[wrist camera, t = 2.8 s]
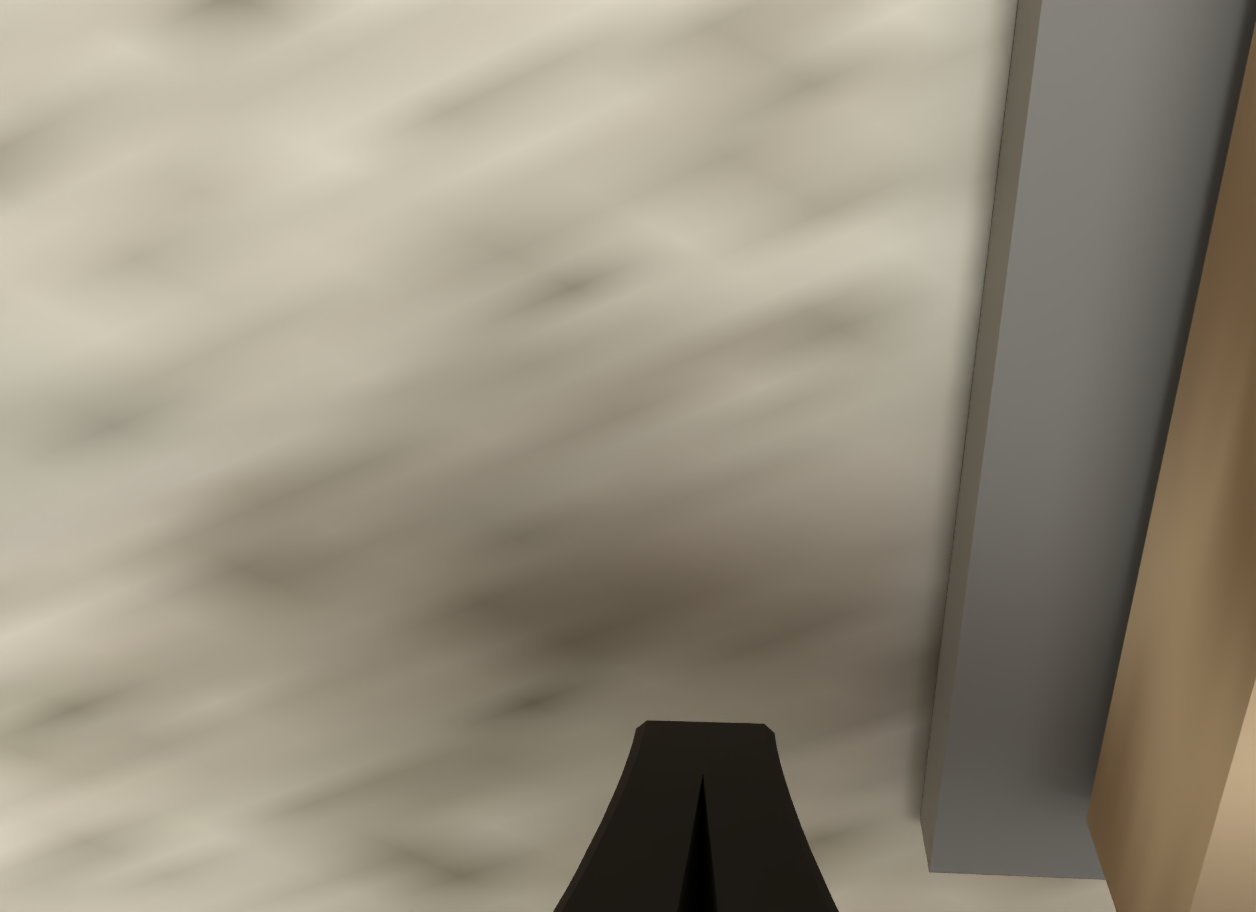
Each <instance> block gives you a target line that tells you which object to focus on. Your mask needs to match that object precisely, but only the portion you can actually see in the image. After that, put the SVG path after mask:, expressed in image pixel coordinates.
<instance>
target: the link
mask: <svg viewBox="0 0 1256 912" xmlns="http://www.w3.org/2000/svg"><path fill="white" fill-rule="evenodd" d="M1086 822H1087V825H1088V828H1089V831H1090V834H1091V837H1092V840H1093V843H1094V846H1095V849H1096V852H1097V855H1098V858H1099V861H1100V864H1101V867H1102V870H1103V873H1104V876H1105V879H1106V882H1107V885H1108V887H1109V890H1110V893H1111V896H1112V899H1113V902H1114V905H1115V908H1116V911H1117V912H1256V22H1255V27H1254V31H1253V36H1252V41H1251V45H1250V50H1249V55H1248V59H1247V64H1246V69H1245V74H1244V78H1243V83H1242V88H1241V92H1240V97H1239V102H1238V107H1237V111H1236V116H1235V121H1234V125H1233V130H1232V135H1231V140H1230V144H1229V149H1228V154H1227V158H1226V163H1225V168H1224V173H1223V177H1222V182H1221V187H1220V191H1219V196H1218V201H1217V205H1216V210H1215V215H1214V220H1213V224H1212V229H1211V234H1210V238H1209V243H1208V248H1207V253H1206V257H1205V262H1204V267H1203V271H1202V276H1201V281H1200V286H1199V290H1198V295H1197V300H1196V304H1195V309H1194V314H1193V319H1192V323H1191V328H1190V333H1189V337H1188V342H1187V347H1186V352H1185V356H1184V361H1183V366H1182V370H1181V375H1180V380H1179V384H1178V389H1177V394H1176V399H1175V403H1174V408H1173V413H1172V417H1171V422H1170V427H1169V432H1168V436H1167V441H1166V446H1165V450H1164V455H1163V460H1162V465H1161V469H1160V474H1159V479H1158V483H1157V488H1156V493H1155V498H1154V502H1153V507H1152V512H1151V516H1150V521H1149V526H1148V530H1147V535H1146V540H1145V545H1144V549H1143V554H1142V559H1141V563H1140V568H1139V573H1138V578H1137V582H1136V587H1135V592H1134V596H1133V601H1132V606H1131V611H1130V615H1129V620H1128V625H1127V629H1126V634H1125V639H1124V644H1123V648H1122V653H1121V658H1120V662H1119V667H1118V672H1117V676H1116V681H1115V686H1114V691H1113V695H1112V700H1111V705H1110V709H1109V714H1108V719H1107V724H1106V728H1105V733H1104V738H1103V742H1102V747H1101V752H1100V757H1099V761H1098V766H1097V771H1096V775H1095V780H1094V785H1093V790H1092V794H1091V799H1090V804H1089V808H1088V813H1087V818H1086Z"/></svg>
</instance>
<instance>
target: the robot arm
mask: <svg viewBox="0 0 1256 912" xmlns="http://www.w3.org/2000/svg"><path fill="white" fill-rule="evenodd" d="M553 912H839V911H838V909H837V907H836V905H835V903H834V901H833V899H832V897H831V894H830V892H829V890H828V888H827V885H826V883H825V881H824V879H823V876H822V874H821V872H820V870H819V867H818V865H817V863H816V861H815V858H814V856H813V854H812V852H811V849H810V847H809V845H808V842H807V840H806V837H805V835H804V832H803V830H802V827H801V825H800V822H799V819H798V816H797V813H796V811H795V808H794V805H793V802H792V800H791V797H790V794H789V791H788V788H787V784H786V781H785V778H784V775H783V771H782V768H781V764H780V760H779V755H778V751H777V746H776V741H775V733H774V732H773V731H772V730H770V729H769V728H768V727H767V726H766V725H765V724H751V723H717V722H683V721H648V720H647V721H646V722H644V723H643V724H642V725H640V726H639V727H638V728H636V732H635V736H634V740H633V744H632V747H631V750H630V753H629V756H628V759H627V762H626V765H625V768H624V770H623V773H622V775H621V778H620V780H619V783H618V785H617V788H616V790H615V792H614V795H613V797H612V799H611V802H610V804H609V806H608V808H607V811H606V813H605V815H604V817H603V820H602V822H601V824H600V826H599V828H598V830H597V832H596V834H595V836H594V837H593V839H592V841H591V843H590V845H589V847H588V849H587V851H586V853H585V855H584V857H583V859H582V861H581V863H580V865H579V867H578V869H577V871H576V873H575V875H574V877H573V879H572V880H571V882H570V884H569V886H568V888H567V889H566V891H565V893H564V894H563V896H562V898H561V899H560V901H559V903H558V905H557V906H556V908H555V910H554V911H553Z"/></svg>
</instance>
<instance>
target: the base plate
mask: <svg viewBox="0 0 1256 912" xmlns="http://www.w3.org/2000/svg"><path fill="white" fill-rule="evenodd" d="M1255 22H1256V0H1019V1H1018V9H1017V17H1016V26H1015V34H1014V42H1013V51H1012V59H1011V67H1010V76H1009V84H1008V92H1007V100H1006V109H1005V117H1004V125H1003V134H1002V142H1001V150H1000V159H999V167H998V175H997V183H996V192H995V200H994V208H993V217H992V225H991V233H990V241H989V250H988V258H987V266H986V275H985V283H984V291H983V300H982V308H981V316H980V324H979V333H978V341H977V349H976V358H975V366H974V374H973V383H972V391H971V399H970V407H969V416H968V424H967V432H966V441H965V449H964V457H963V466H962V474H961V482H960V490H959V499H958V507H957V515H956V524H955V532H954V540H953V548H952V557H951V565H950V573H949V582H948V590H947V598H946V607H945V615H944V623H943V631H942V640H941V648H940V656H939V665H938V673H937V681H936V690H935V698H934V706H933V714H932V723H931V731H930V739H929V748H928V756H927V764H926V773H925V781H924V789H923V797H922V806H921V814H920V822H921V828H922V833H923V839H924V845H925V850H926V856H927V862H928V867H929V872H935V873H959V874H983V875H1007V876H1031V877H1055V878H1079V879H1103V880H1106V879H1105V876H1104V873H1103V870H1102V867H1101V864H1100V861H1099V858H1098V855H1097V852H1096V849H1095V846H1094V843H1093V840H1092V837H1091V834H1090V831H1089V828H1088V825H1087V822H1086V818H1087V813H1088V808H1089V804H1090V799H1091V794H1092V790H1093V785H1094V780H1095V775H1096V771H1097V766H1098V761H1099V757H1100V752H1101V747H1102V742H1103V738H1104V733H1105V728H1106V724H1107V719H1108V714H1109V709H1110V705H1111V700H1112V695H1113V691H1114V686H1115V681H1116V676H1117V672H1118V667H1119V662H1120V658H1121V653H1122V648H1123V644H1124V639H1125V634H1126V629H1127V625H1128V620H1129V615H1130V611H1131V606H1132V601H1133V596H1134V592H1135V587H1136V582H1137V578H1138V573H1139V568H1140V563H1141V559H1142V554H1143V549H1144V545H1145V540H1146V535H1147V530H1148V526H1149V521H1150V516H1151V512H1152V507H1153V502H1154V498H1155V493H1156V488H1157V483H1158V479H1159V474H1160V469H1161V465H1162V460H1163V455H1164V450H1165V446H1166V441H1167V436H1168V432H1169V427H1170V422H1171V417H1172V413H1173V408H1174V403H1175V399H1176V394H1177V389H1178V384H1179V380H1180V375H1181V370H1182V366H1183V361H1184V356H1185V352H1186V347H1187V342H1188V337H1189V333H1190V328H1191V323H1192V319H1193V314H1194V309H1195V304H1196V300H1197V295H1198V290H1199V286H1200V281H1201V276H1202V271H1203V267H1204V262H1205V257H1206V253H1207V248H1208V243H1209V238H1210V234H1211V229H1212V224H1213V220H1214V215H1215V210H1216V205H1217V201H1218V196H1219V191H1220V187H1221V182H1222V177H1223V173H1224V168H1225V163H1226V158H1227V154H1228V149H1229V144H1230V140H1231V135H1232V130H1233V125H1234V121H1235V116H1236V111H1237V107H1238V102H1239V97H1240V92H1241V88H1242V83H1243V78H1244V74H1245V69H1246V64H1247V59H1248V55H1249V50H1250V45H1251V41H1252V36H1253V31H1254V27H1255Z"/></svg>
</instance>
